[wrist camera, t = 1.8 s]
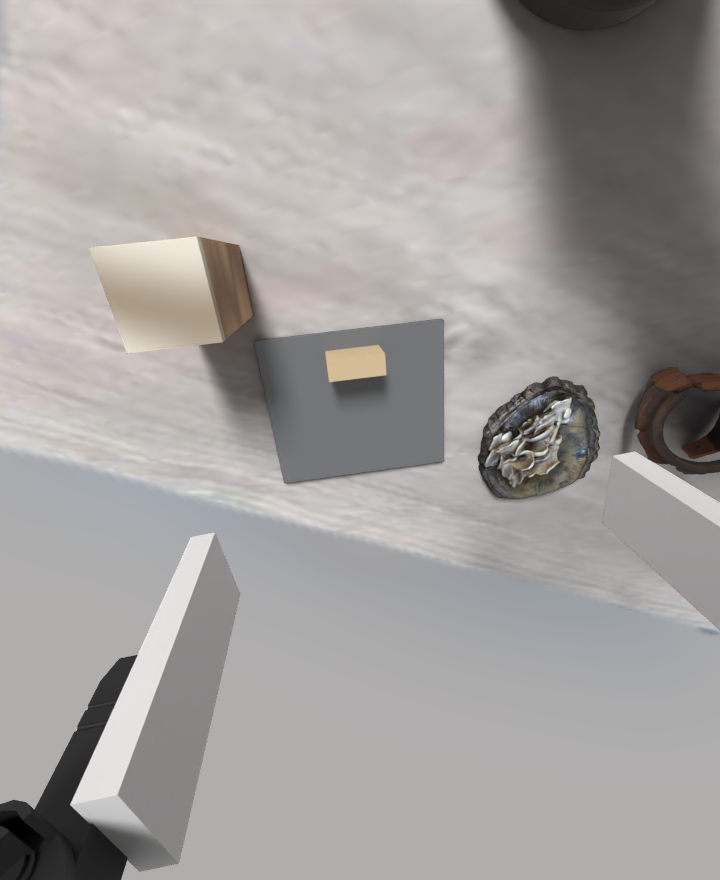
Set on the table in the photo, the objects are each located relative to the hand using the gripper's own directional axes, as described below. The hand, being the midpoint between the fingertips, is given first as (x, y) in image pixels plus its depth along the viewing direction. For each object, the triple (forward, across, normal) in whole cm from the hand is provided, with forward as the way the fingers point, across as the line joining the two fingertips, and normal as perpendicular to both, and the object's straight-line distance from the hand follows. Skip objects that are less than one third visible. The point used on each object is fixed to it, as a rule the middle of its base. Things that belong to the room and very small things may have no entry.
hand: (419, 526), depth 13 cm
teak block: (+19, -9, +8) cm, 23 cm away
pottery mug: (+20, +28, -8) cm, 35 cm away
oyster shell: (+20, +15, -9) cm, 26 cm away
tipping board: (+19, -1, -3) cm, 19 cm away
